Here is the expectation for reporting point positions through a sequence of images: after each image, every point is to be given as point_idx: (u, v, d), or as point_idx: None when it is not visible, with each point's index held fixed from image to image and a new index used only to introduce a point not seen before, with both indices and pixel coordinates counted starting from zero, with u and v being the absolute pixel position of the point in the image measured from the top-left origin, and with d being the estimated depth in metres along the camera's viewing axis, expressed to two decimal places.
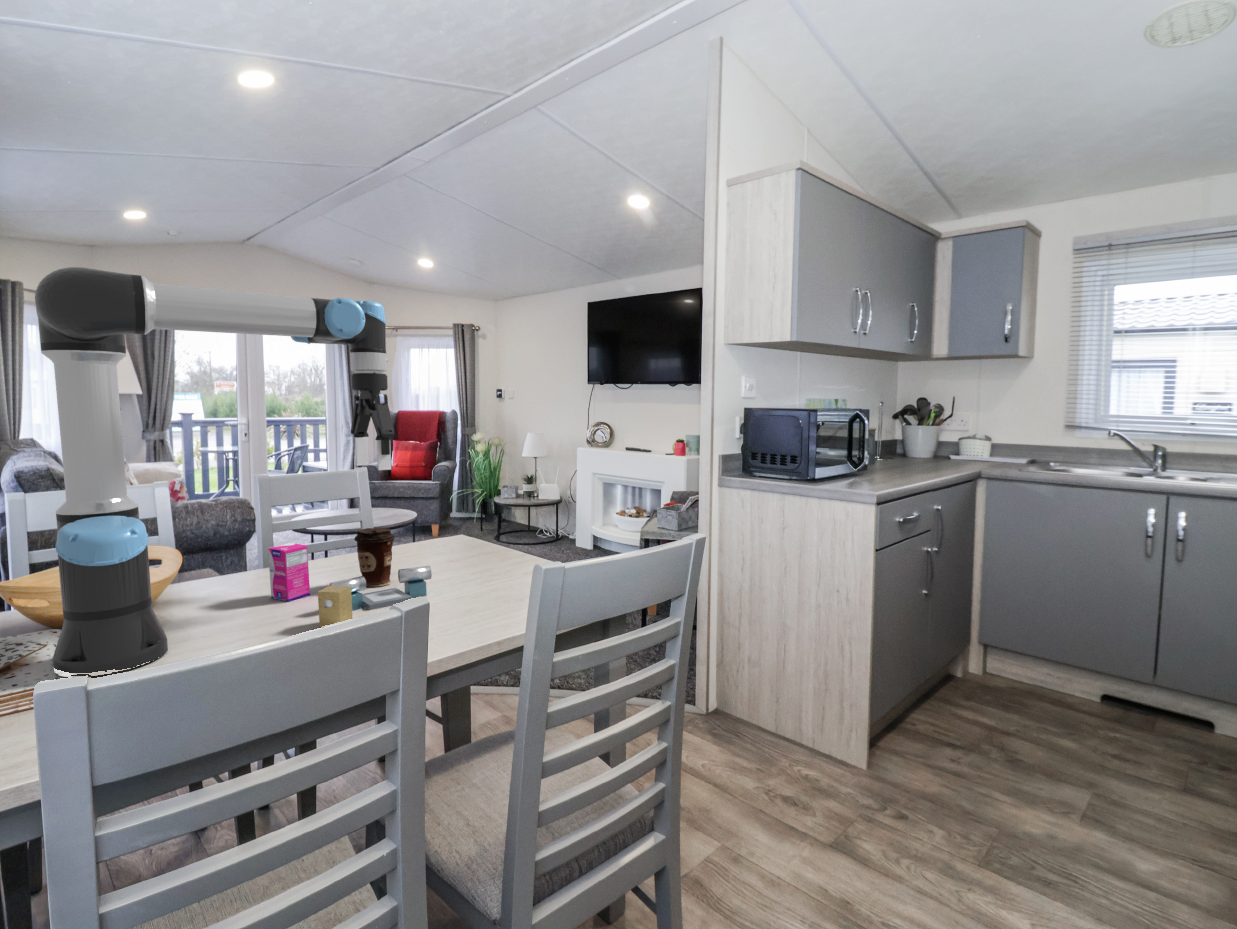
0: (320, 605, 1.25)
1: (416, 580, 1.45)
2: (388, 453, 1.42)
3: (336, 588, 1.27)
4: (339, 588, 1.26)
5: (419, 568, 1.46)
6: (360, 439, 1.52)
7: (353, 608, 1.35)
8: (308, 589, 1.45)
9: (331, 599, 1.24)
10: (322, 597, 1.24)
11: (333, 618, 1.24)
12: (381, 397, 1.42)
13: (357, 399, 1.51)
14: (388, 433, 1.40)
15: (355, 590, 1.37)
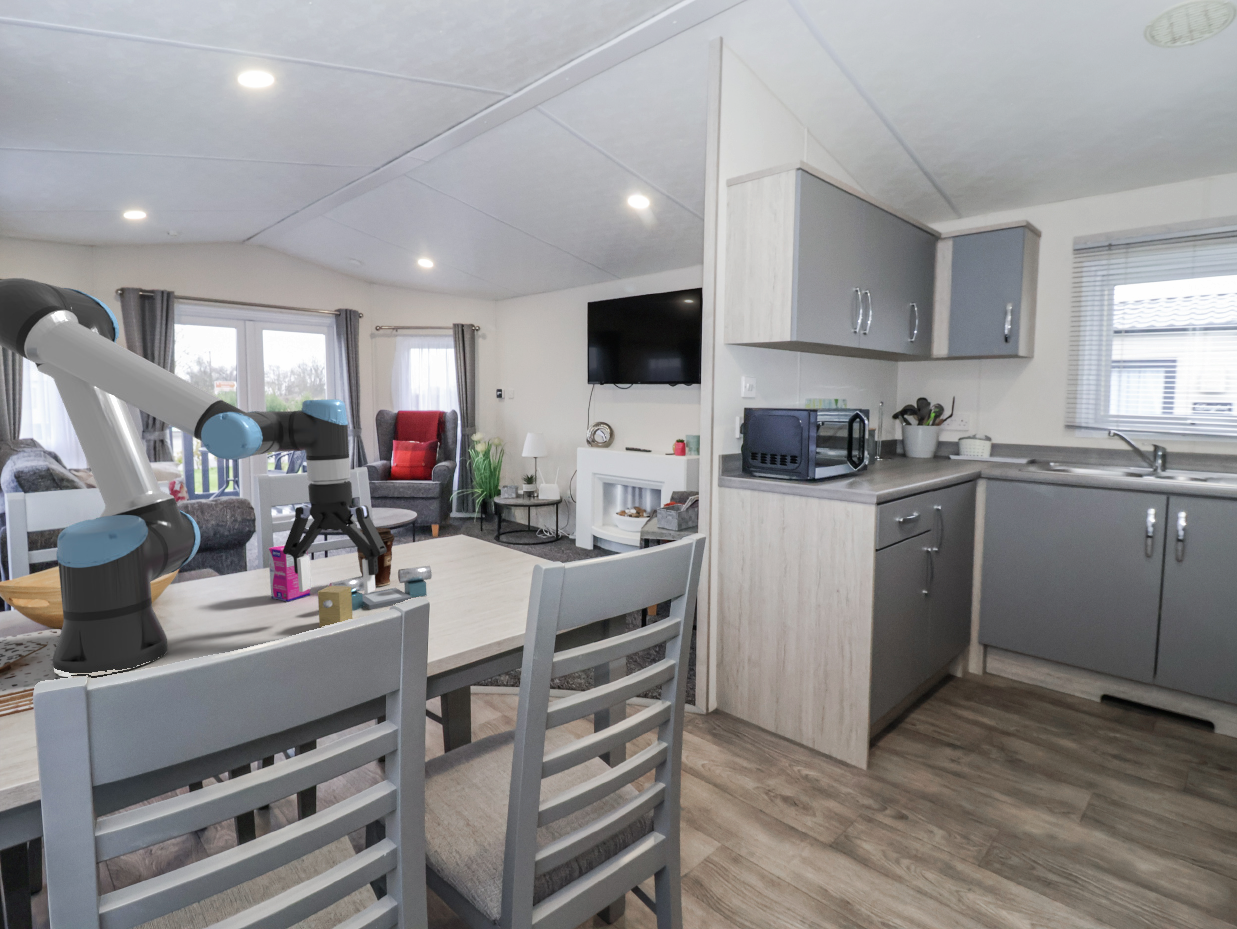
0: (320, 605, 1.25)
1: (416, 580, 1.45)
2: (377, 572, 1.25)
3: (336, 588, 1.27)
4: (339, 588, 1.26)
5: (419, 568, 1.46)
6: (303, 559, 1.26)
7: (353, 608, 1.35)
8: (308, 589, 1.45)
9: (331, 599, 1.24)
10: (322, 597, 1.24)
11: (333, 618, 1.24)
12: (364, 510, 1.23)
13: (302, 512, 1.25)
14: (382, 550, 1.24)
15: (355, 590, 1.37)
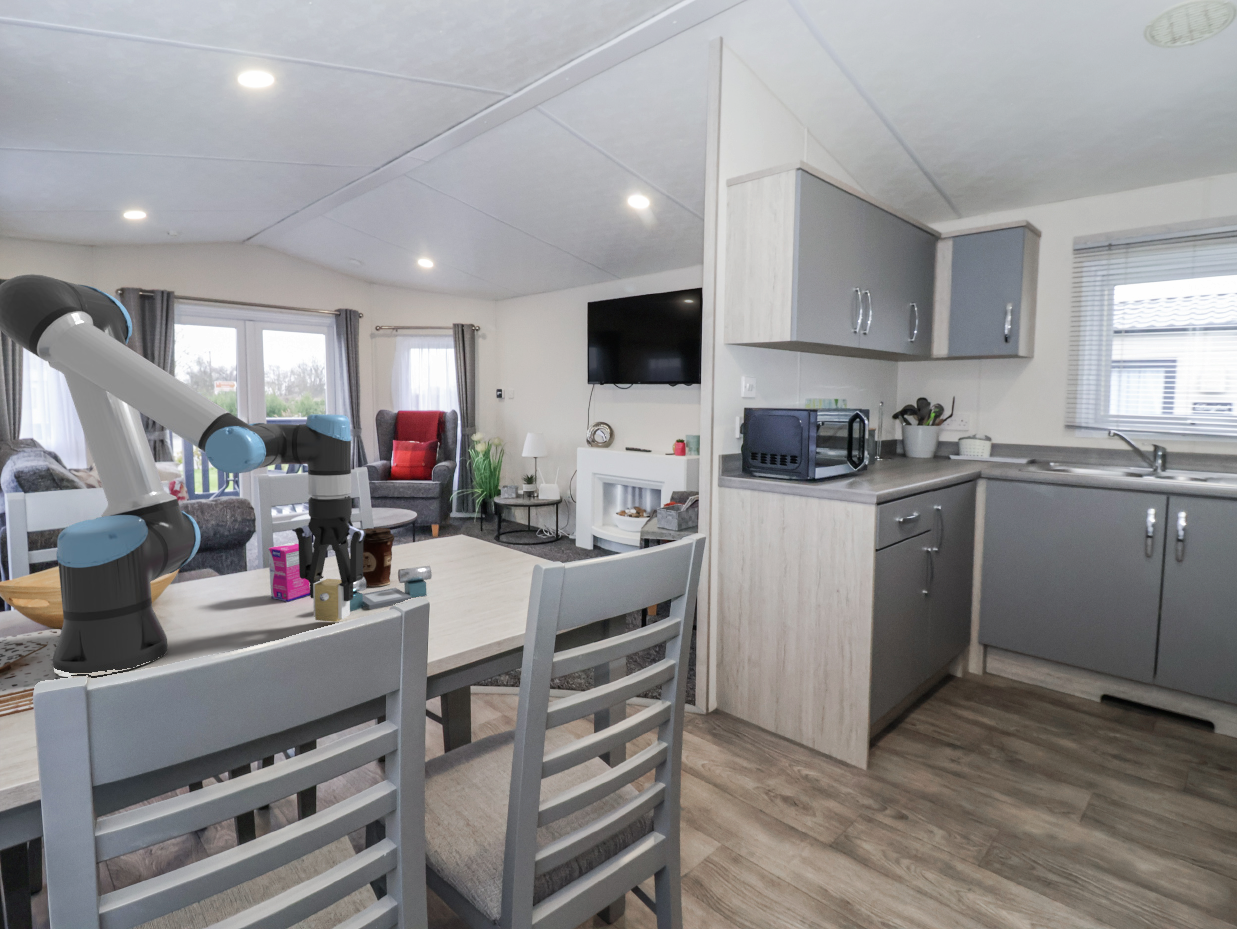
0: (316, 598, 1.25)
1: (416, 580, 1.45)
2: (352, 598, 1.26)
3: (333, 581, 1.27)
4: (336, 581, 1.26)
5: (419, 568, 1.46)
6: None
7: (353, 608, 1.35)
8: (308, 589, 1.45)
9: (328, 592, 1.24)
10: (319, 590, 1.24)
11: (329, 611, 1.24)
12: (361, 535, 1.24)
13: (302, 531, 1.25)
14: (359, 578, 1.25)
15: (355, 590, 1.37)
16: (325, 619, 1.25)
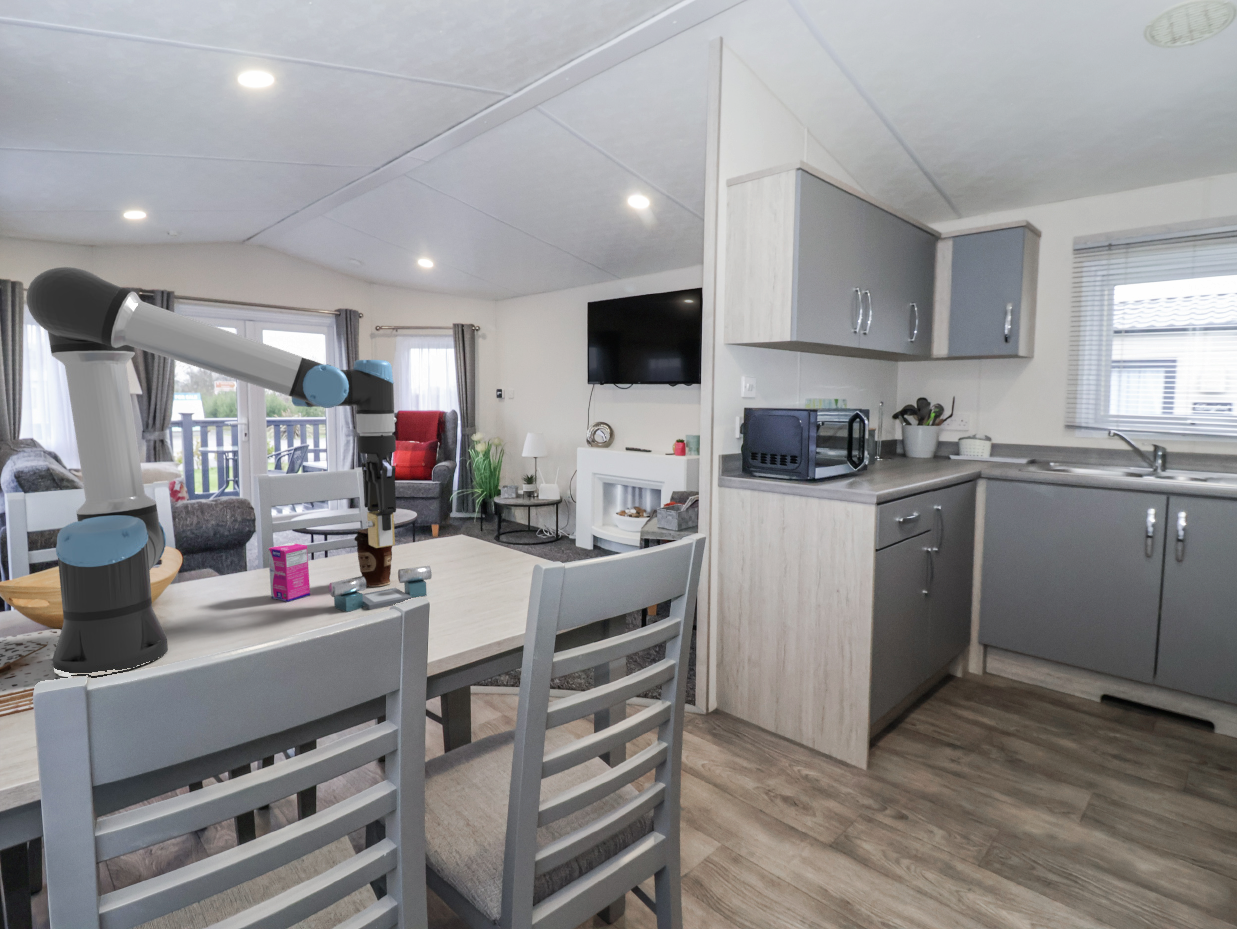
0: None
1: (416, 580, 1.45)
2: (389, 529, 1.37)
3: None
4: None
5: (419, 568, 1.46)
6: None
7: (353, 608, 1.35)
8: (308, 589, 1.45)
9: (372, 520, 1.38)
10: (368, 518, 1.39)
11: (373, 538, 1.38)
12: (389, 471, 1.34)
13: (365, 466, 1.42)
14: (389, 510, 1.35)
15: (355, 590, 1.37)
16: (372, 544, 1.39)
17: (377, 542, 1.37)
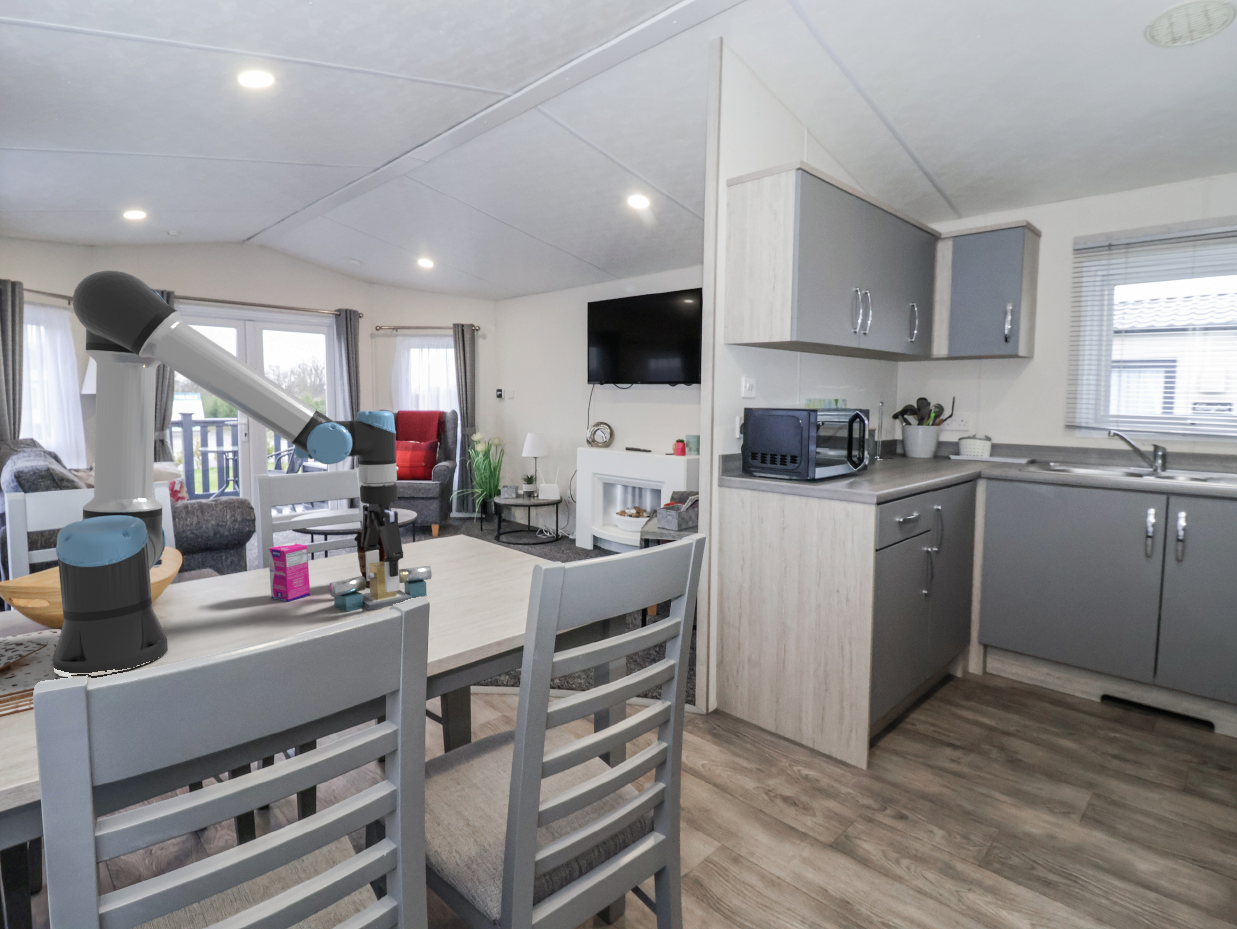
0: None
1: (416, 580, 1.45)
2: (396, 574, 1.36)
3: None
4: None
5: (419, 568, 1.46)
6: (371, 553, 1.44)
7: (353, 608, 1.35)
8: (308, 589, 1.45)
9: (373, 572, 1.39)
10: (370, 569, 1.41)
11: (374, 589, 1.39)
12: (391, 516, 1.35)
13: (366, 509, 1.43)
14: (396, 556, 1.34)
15: (355, 590, 1.37)
16: (373, 596, 1.40)
17: (379, 594, 1.39)
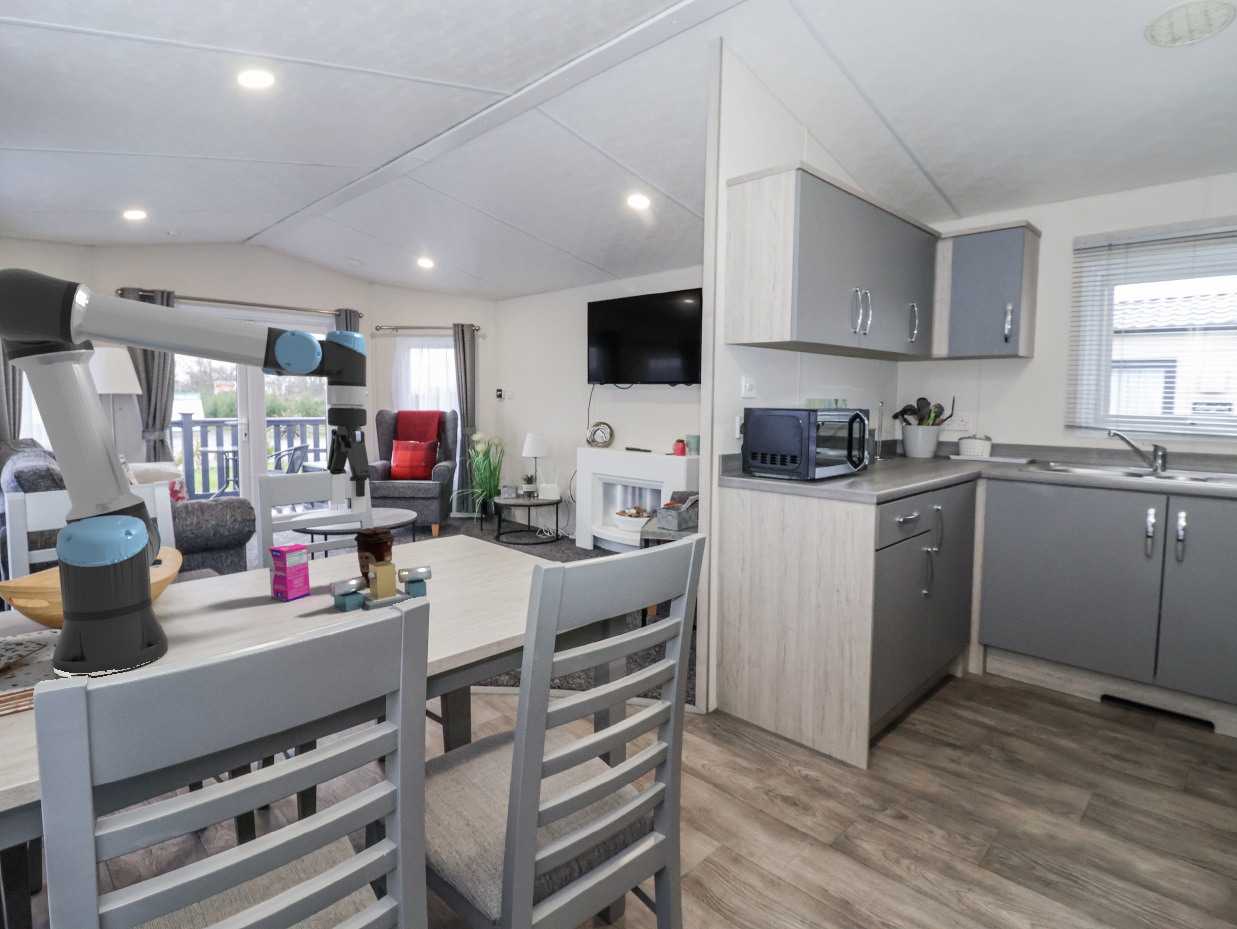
0: None
1: (416, 580, 1.45)
2: (363, 495, 1.32)
3: (385, 563, 1.41)
4: (385, 564, 1.41)
5: (419, 568, 1.46)
6: (336, 476, 1.43)
7: (353, 608, 1.35)
8: (308, 589, 1.45)
9: (373, 572, 1.39)
10: (370, 569, 1.41)
11: (374, 589, 1.39)
12: (357, 435, 1.32)
13: (334, 434, 1.41)
14: (363, 474, 1.30)
15: (355, 590, 1.37)
16: (373, 596, 1.40)
17: (379, 594, 1.39)
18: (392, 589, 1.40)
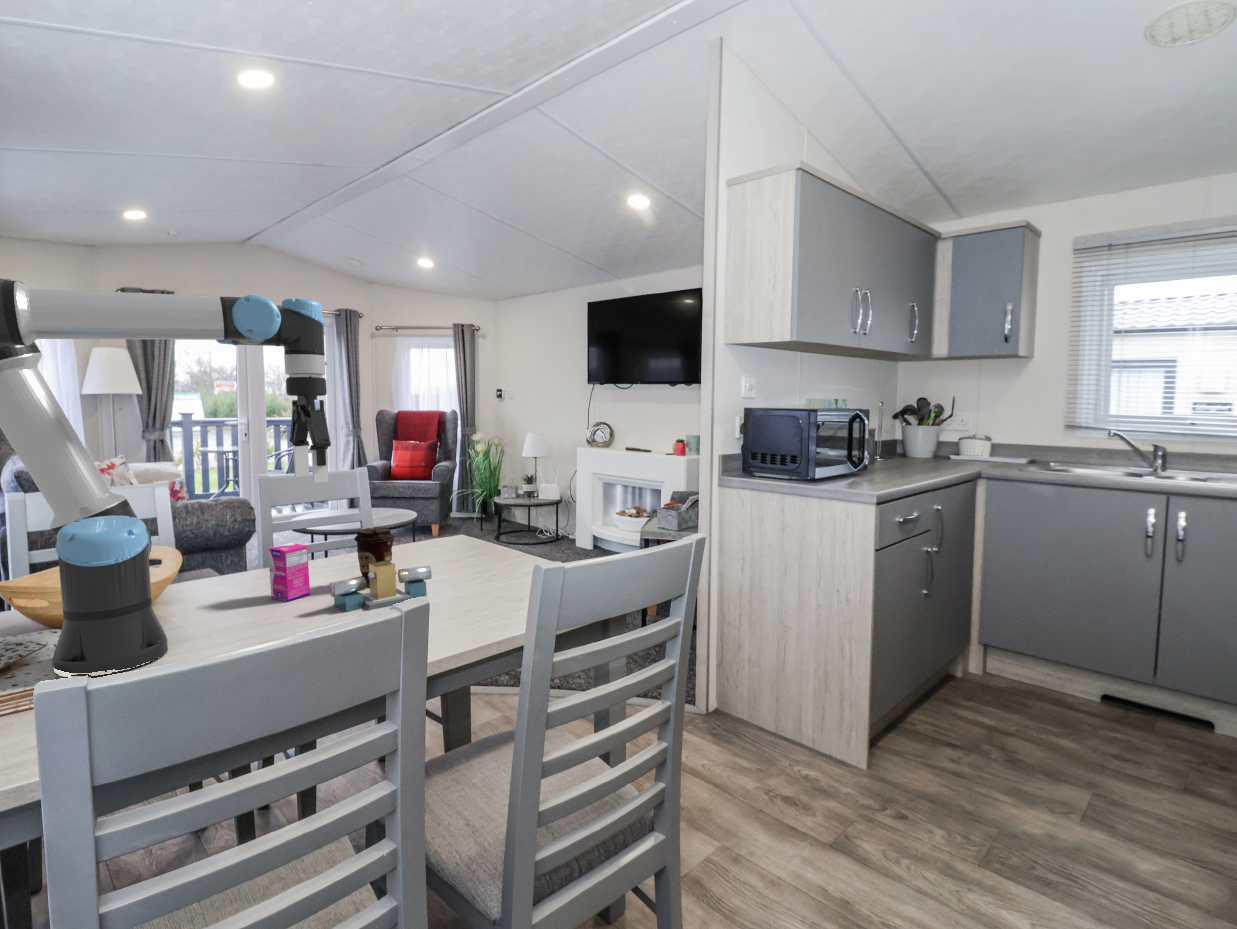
0: None
1: (416, 580, 1.45)
2: (324, 464, 1.31)
3: (385, 563, 1.41)
4: (385, 564, 1.41)
5: (419, 568, 1.46)
6: (299, 448, 1.41)
7: (353, 608, 1.35)
8: (308, 589, 1.45)
9: (373, 572, 1.39)
10: (370, 569, 1.41)
11: (374, 589, 1.39)
12: (316, 403, 1.30)
13: (295, 405, 1.39)
14: (323, 442, 1.28)
15: (355, 590, 1.37)
16: (373, 596, 1.40)
17: (379, 594, 1.39)
18: (392, 589, 1.40)
